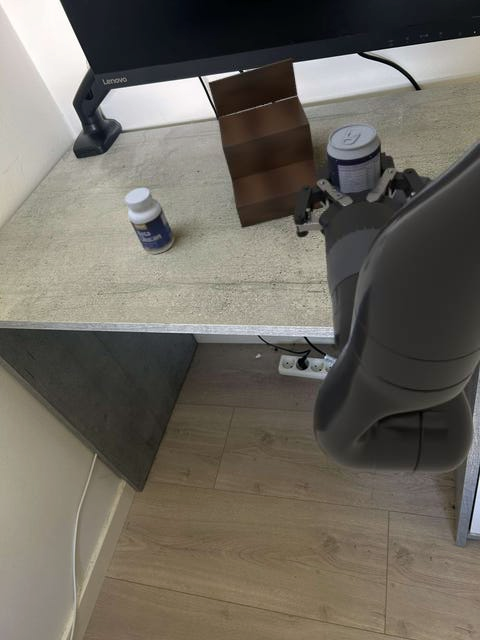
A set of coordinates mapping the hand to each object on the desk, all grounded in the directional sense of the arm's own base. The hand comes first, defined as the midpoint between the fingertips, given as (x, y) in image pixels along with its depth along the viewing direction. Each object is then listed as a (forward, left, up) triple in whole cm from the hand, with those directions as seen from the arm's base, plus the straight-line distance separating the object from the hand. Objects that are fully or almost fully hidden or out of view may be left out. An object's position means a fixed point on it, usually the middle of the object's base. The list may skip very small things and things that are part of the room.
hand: (353, 164), depth 56 cm
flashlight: (-6, -11, -15) cm, 20 cm away
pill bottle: (+30, -16, -15) cm, 37 cm away
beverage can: (0, +2, -7) cm, 8 cm away
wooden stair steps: (+9, -24, -15) cm, 29 cm away
